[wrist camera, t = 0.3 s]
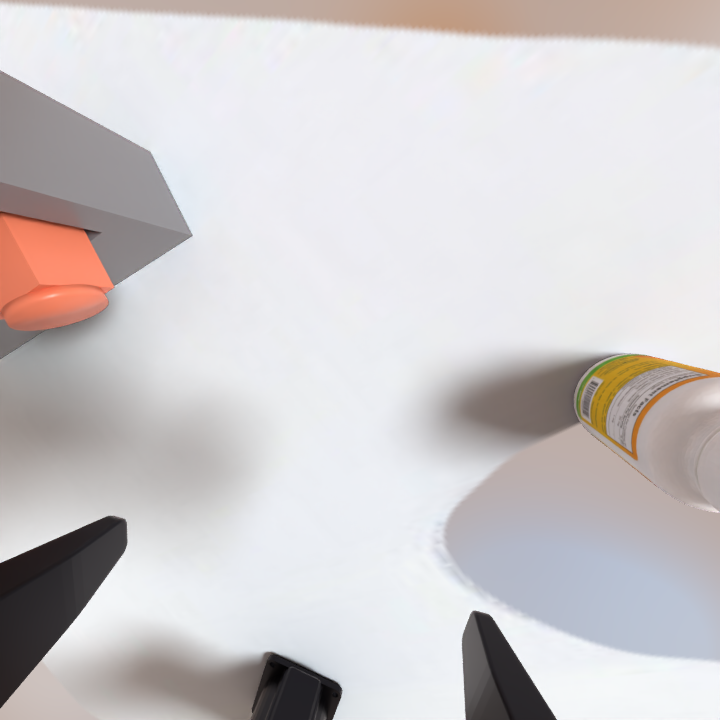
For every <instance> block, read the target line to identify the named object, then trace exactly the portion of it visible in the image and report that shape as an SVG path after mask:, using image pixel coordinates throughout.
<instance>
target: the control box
mask: <svg viewBox="0 0 720 720" xmlns="http://www.w3.org/2000/svg"><path fill="white" fill-rule="evenodd" d="M0 211H2V212H7V213H12V214H17V215H21V216H26V217H31V218H36V219H40V220H45V221H50V222H55V223H59V224H64V225H69V226H74V227H78V228H83V229H84V231H85V233H86V235H87V236H88V238H89V240H90V242H91V244H92V246H93V248H94V250H95V252H96V253H97V255H98V257H99V259H100V261H101V263H102V265H103V267H104V269H105V270H106V272H107V274H108V276H109V278H110V280H111V282H112V284H113V286H115V285H116V284H118V283H119V282H121V281H122V280H124V279H126V278H127V277H129V276H130V275H132V274H133V273H135V272H136V271H138V270H140V269H141V268H143V267H144V266H146V265H147V264H149V263H151V262H152V261H154V260H155V259H157V258H158V257H160V256H161V255H163V254H165V253H166V252H168V251H169V250H171V249H172V248H174V247H175V246H177V245H179V244H180V243H182V242H183V241H185V240H186V239H188V238H189V237H191V236H192V234H191V232H190V230H189V228H188V226H187V224H186V222H185V220H184V218H183V216H182V214H181V212H180V210H179V208H178V206H177V204H176V202H175V200H174V198H173V196H172V194H171V192H170V190H169V188H168V186H167V184H166V182H165V180H164V178H163V176H162V174H161V172H160V170H159V168H158V166H157V164H156V162H155V160H154V158H153V156H152V154H151V152H150V151H148V150H146V149H144V148H142V147H140V146H139V145H137V144H135V143H133V142H131V141H129V140H128V139H126V138H124V137H122V136H120V135H118V134H116V133H115V132H113V131H111V130H109V129H107V128H105V127H104V126H102V125H100V124H98V123H96V122H94V121H92V120H91V119H89V118H87V117H85V116H83V115H81V114H80V113H78V112H76V111H74V110H72V109H70V108H69V107H67V106H65V105H63V104H61V103H59V102H57V101H56V100H54V99H52V98H50V97H48V96H46V95H45V94H43V93H41V92H39V91H37V90H35V89H33V88H32V87H30V86H28V85H26V84H24V83H22V82H21V81H19V80H17V79H15V78H13V77H11V76H9V75H8V74H6V73H4V72H2V71H0ZM45 330H46V329H45ZM45 330H36V331H20V330H15V329H12V328H10V327H9V326H8V324H7V323H6V321H5V319H3V320H0V359H1V358H3V357H4V356H6V355H7V354H9V353H10V352H12V351H13V350H15V349H17V348H18V347H20V346H21V345H23V344H24V343H26V342H27V341H29V340H31V339H32V338H34V337H35V336H37V335H38V334H40V333H41V332H43V331H45Z"/></svg>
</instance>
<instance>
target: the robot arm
mask: <svg viewBox="0 0 720 720" xmlns="http://www.w3.org/2000/svg"><path fill="white" fill-rule="evenodd" d="M126 546H127V522H126V520H125V519H123V518H119V517H116V516H107V517H105V518H102V519H100V520H98V521H95V522H93V523H91V524H89V525H86V526H84V527H82V528H79V529H77V530H75V531H73V532H70V533H68V534H66V535H63V536H61V537H59V538H57V539H54V540H52V541H50V542H47V543H45V544H43V545H41V546H38V547H36V548H34V549H31V550H29V551H27V552H25V553H22V554H20V555H18V556H16V557H13V558H11V559H9V560H6V561H4V562H2V563H0V708H1V707H2V706H3V705H4V703H5V702H6V701H7V700H8V699H9V697H10V696H11V695H12V694H13V693H14V692H15V690H16V689H17V688H18V687H19V686H20V684H21V683H22V682H23V681H24V680H25V679H26V677H27V676H28V675H29V674H30V673H31V671H32V670H33V669H34V668H35V667H36V666H37V664H38V663H39V662H40V661H41V660H42V658H43V657H44V656H45V655H46V654H47V652H48V651H49V650H50V649H51V648H52V647H53V645H54V644H55V643H56V642H57V641H58V639H59V638H60V637H61V636H62V635H63V634H64V632H65V631H66V630H67V629H68V628H69V626H70V625H71V624H72V623H73V621H74V620H75V619H76V618H77V616H78V615H79V614H80V613H81V611H82V610H83V609H84V607H85V606H86V605H87V603H88V602H89V600H90V599H91V598H92V596H93V595H94V593H95V592H96V591H97V589H98V588H99V586H100V585H101V584H102V582H103V581H104V580H105V578H106V577H107V575H108V574H109V573H110V571H111V570H112V568H113V567H114V566H115V564H116V563H117V561H118V560H119V559H120V557H121V556H122V555H123V553H124V551H125V549H126ZM462 654H463V674H464V694H465V713H466V720H557V719H556V718H555V716H554V714H553V713H552V711H551V710H550V708H549V707H548V705H547V703H546V702H545V700H544V699H543V697H542V695H541V694H540V692H539V691H538V689H537V688H536V686H535V684H534V683H533V681H532V680H531V678H530V676H529V675H528V673H527V672H526V670H525V669H524V667H523V665H522V664H521V662H520V661H519V659H518V658H517V656H516V654H515V653H514V651H513V650H512V648H511V646H510V645H509V643H508V642H507V640H506V639H505V637H504V635H503V634H502V632H501V631H500V629H499V627H498V626H497V624H496V623H495V621H494V620H493V618H492V617H491V616H490V615H489V614H486V613H482V612H479V611H473V612H472V613H471V614H470V617H469V620H468V622H467V625H466V627H465V630H464V633H463V637H462ZM341 695H342V688H341V687H340V686H339V685H337V684H335V683H333V682H331V681H329V680H327V679H325V678H323V677H320V676H318V675H316V674H314V673H312V672H310V671H308V670H306V669H304V668H301V667H299V666H297V665H295V664H293V663H291V662H289V661H287V660H285V659H283V658H280V657H278V656H276V655H270V656H269V658H268V660H267V663H266V666H265V669H264V672H263V675H262V679H261V682H260V685H259V688H258V692H257V695H256V698H255V701H254V704H253V708H252V713H253V715H252V717H251V720H332V719H333V717H334V714H335V712H336V709H337V706H338V704H339V701H340V699H341Z"/></svg>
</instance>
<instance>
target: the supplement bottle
mask: <svg viewBox="0 0 720 720" xmlns="http://www.w3.org/2000/svg"><path fill="white" fill-rule="evenodd" d="M574 408H575V412H576V415H577V417H578V419H579V421H580V423H581V424H582V425H583V427H584V428H585V429H586V430H587V431H588V432H590V433H591V434H592V435H593V436H594V437H595V438H597V439H598V440H599V441H600V442H602V443H603V444H604V445H605V446H607V447H608V448H609V449H611V450H612V451H613V452H614V453H616V454H617V455H618V456H620V457H621V458H622V459H623V460H624V461H626V462H627V463H628V464H629V465H631V466H632V467H633V468H634V469H636V470H637V471H638V472H640V473H641V474H642V475H643V476H644V477H645V478H647V479H648V480H649V481H650V482H652V483H653V484H654V485H655V486H657V487H658V488H660V489H661V490H662V491H664V492H665V493H666V494H668V495H670V496H671V497H673V498H674V499H676V500H678V501H680V502H682V503H684V504H686V505H689V506H692V507H694V508H698V509H701V510H705V511H710V512H718V513H720V373H717V372H713V371H709V370H705V369H701V368H697V367H693V366H688V365H684V364H680V363H677V362H672V361H668V360H664V359H660V358H656V357H651V356H647V355H641V354H621V355H616V356H612V357H609V358H606V359H604V360H601V361H600V362H598V363H596V364H595V365H593V366H592V367H591V368H590V369H588V370H587V371H586V373H585V374H584V375H583V376H582V378H581V379H580V381H579V383H578V384H577V387H576V390H575V394H574Z"/></svg>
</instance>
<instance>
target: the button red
mask: <svg viewBox="0 0 720 720" xmlns="http://www.w3.org/2000/svg"><path fill="white" fill-rule="evenodd" d="M113 288H114V286H113V284H112V282H111V280H110V278H109V276H108V274H107V272H106V270H105V269H104V267H103V265H102V263H101V261H100V259H99V257H98V255H97V253H96V252H95V250H94V248H93V246H92V244H91V242H90V240H89V238H88V236H87V235H86V233H85V231H84V229H83V228H78V227H74V226H69V225H64V224H59V223H55V222H50V221H45V220H40V219H36V218H31V217H26V216H21V215H17V214H12V213H7V212H2V211H0V320H3V319H5V321H6V323H7V324H8V326H9V327H10V328H12V329H15V330H20V331H36V330H45V329H52V328H57V327H62V326H66V325H69V324H73V323H76V322H79V321H82V320H85V319H87V318H90V317H92V316H94V315H96V314H98V313H100V312H101V311H103V310H104V309H105V308H106V307H107V306H108V303H109V302H108V299H107V298H106V296H105V293H107V292H108V291H110V290H111V289H113Z"/></svg>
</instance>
